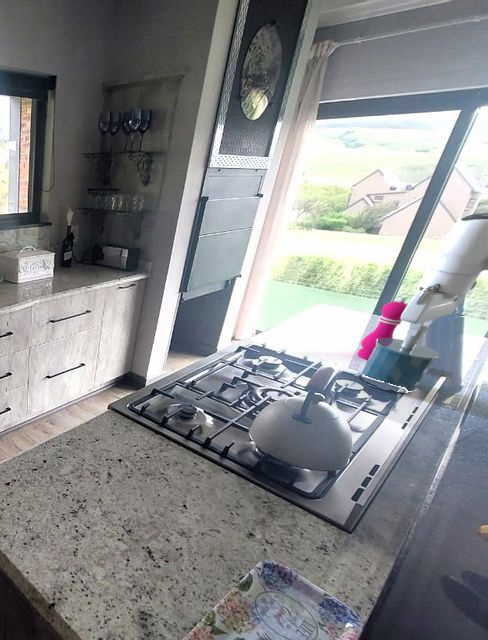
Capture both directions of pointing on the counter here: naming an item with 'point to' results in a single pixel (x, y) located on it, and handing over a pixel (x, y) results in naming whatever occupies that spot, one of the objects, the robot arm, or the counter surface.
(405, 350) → the lid
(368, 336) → the pepper mill
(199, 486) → the counter surface
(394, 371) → the cup
